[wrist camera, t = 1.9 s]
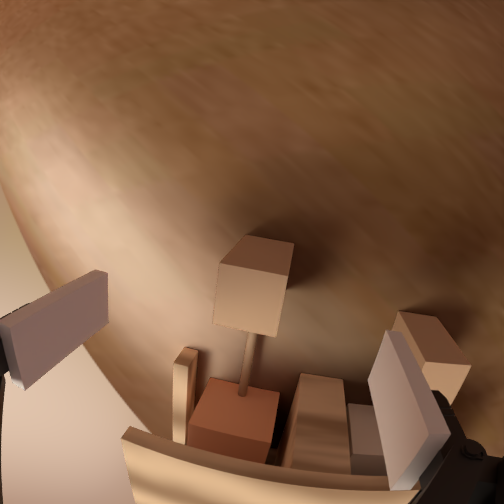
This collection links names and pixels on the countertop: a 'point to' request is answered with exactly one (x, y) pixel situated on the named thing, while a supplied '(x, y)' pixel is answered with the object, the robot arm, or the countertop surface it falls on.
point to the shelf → (251, 473)
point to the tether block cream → (435, 372)
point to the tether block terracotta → (254, 322)
